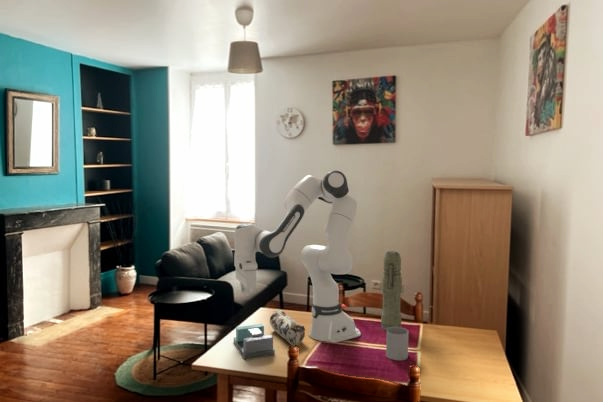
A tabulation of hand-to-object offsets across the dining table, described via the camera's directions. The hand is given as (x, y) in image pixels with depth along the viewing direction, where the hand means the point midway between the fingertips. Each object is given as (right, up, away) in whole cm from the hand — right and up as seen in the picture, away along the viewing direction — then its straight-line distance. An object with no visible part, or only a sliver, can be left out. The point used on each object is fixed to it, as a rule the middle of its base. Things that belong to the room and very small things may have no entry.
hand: (245, 293), depth 187 cm
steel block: (+6, -18, -12) cm, 23 cm away
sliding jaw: (+3, -17, -6) cm, 18 cm away
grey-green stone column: (+65, -19, +12) cm, 68 cm away
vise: (+5, -20, -10) cm, 23 cm away
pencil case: (+18, -19, +2) cm, 26 cm away
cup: (+61, -21, -16) cm, 67 cm away
